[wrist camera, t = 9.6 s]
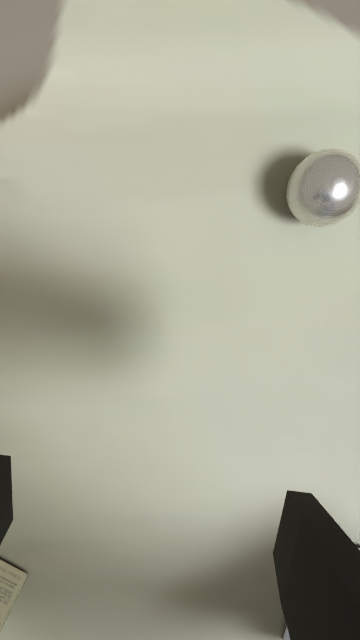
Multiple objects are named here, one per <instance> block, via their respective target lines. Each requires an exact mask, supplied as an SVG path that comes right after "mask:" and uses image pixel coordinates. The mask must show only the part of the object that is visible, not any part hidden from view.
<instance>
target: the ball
mask: <svg viewBox="0 0 360 640" xmlns="http://www.w3.org/2000/svg"><path fill="white" fill-rule="evenodd" d="M286 198H287V203H288V206H289V208H290V210H291V212H292V214H293V215H294V216H295V217H296V218H297V219H298V220H300V221H301V222H303V223H305V224H307V225H310V226H318V227H322V226H328V225H332V224H335V223H338V222H339V221H341V220H343V219H344V218H346V217H347V216H348V215H350V214H351V213H352V212H353V211H354V209H355V208H356V207H357V205H358V204H359V202H360V163H359V161H358V160H357V159H356V158H355V157H354V156H353V155H351V154H350V153H348V152H345V151H342V150H338V149H326V150H321V151H318V152H315V153H313V154H311V155H310V156H308V157H306V158H305V159H304V160H303V161H301V162H300V163H299V164H298V166H297V167H296V168H295V169H294V171H293V172H292V174H291V176H290V179H289V181H288V185H287V191H286Z"/></svg>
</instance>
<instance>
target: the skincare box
mask: <svg viewBox="0 0 360 640" xmlns="http://www.w3.org/2000/svg"><path fill="white" fill-rule="evenodd" d="M26 578H27V573H25V572H23V571H21V570H19V569H17V568H15V567H13V566H11V565H10V564H8V563H6V562H4V561H2V560H0V631H1V629H2V627H3V625H4V623H5V621H6V619H7V616H8V614H9V612H10V610H11V608H12V606H13V604H14V602H15V600H16V598H17V596H18V594H19V592H20V590H21V588H22V586H23V584H24V582H25V580H26Z"/></svg>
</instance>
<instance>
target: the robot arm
mask: <svg viewBox="0 0 360 640" xmlns="http://www.w3.org/2000/svg"><path fill="white" fill-rule="evenodd" d="M12 521H13V506H12V480H11V456H6V455H0V545H1V543H2V541H3V539H4V537H5V535H6V533H7V531H8V529H9V527H10V525H11V523H12ZM273 556H274V562H275V569H276V576H277V582H278V588H279V594H280V600H281V605H282V609H283V613H284V617H285V621H286V625H287V626H286V629H285V633H284V637H283V640H360V548H357V546H356V545H355V544H354V543H353V542H352V541H351V539H350V538H349V537H348V536H347V535H346V534H345V532H344V531H343V530H342V529H341V528H340V526H339V525H338V524H337V523H336V522H335V521H334V519H333V518H332V517H331V516H330V515H329V513H328V512H327V511H326V510H325V509H324V507H323V506H322V505H321V504H320V503H319V502H318V500H317V499H316V498H315V497H314V496H313V495H312V494H311V493H304V492H296V491H288V490H287V494H286V498H285V503H284V507H283V511H282V516H281V520H280V525H279V529H278V534H277V538H276V543H275V547H274V551H273Z"/></svg>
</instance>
